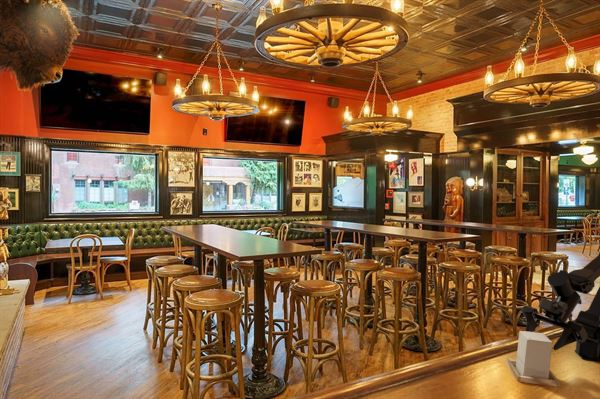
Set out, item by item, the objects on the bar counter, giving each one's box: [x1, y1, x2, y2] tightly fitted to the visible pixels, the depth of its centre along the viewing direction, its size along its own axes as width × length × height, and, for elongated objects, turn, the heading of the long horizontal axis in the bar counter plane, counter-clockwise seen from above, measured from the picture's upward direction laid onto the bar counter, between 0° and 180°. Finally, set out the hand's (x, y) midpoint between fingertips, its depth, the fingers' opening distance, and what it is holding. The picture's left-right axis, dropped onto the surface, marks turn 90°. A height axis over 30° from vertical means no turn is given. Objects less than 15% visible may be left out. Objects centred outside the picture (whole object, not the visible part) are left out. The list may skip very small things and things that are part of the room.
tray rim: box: [505, 358, 561, 388], centre depth 129 cm, size 12×12×2 cm
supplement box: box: [515, 330, 553, 380], centre depth 129 cm, size 7×7×13 cm
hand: (539, 343), depth 130 cm, fingers open, 9 cm apart
